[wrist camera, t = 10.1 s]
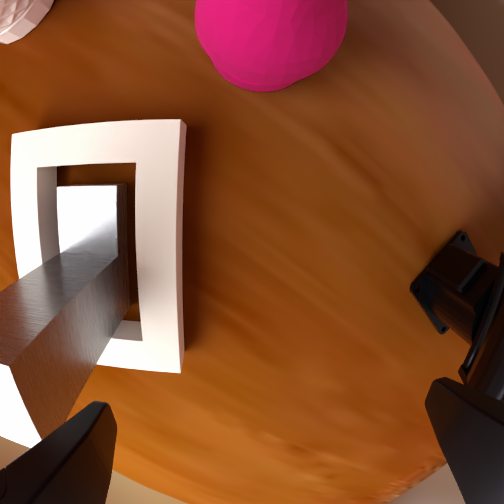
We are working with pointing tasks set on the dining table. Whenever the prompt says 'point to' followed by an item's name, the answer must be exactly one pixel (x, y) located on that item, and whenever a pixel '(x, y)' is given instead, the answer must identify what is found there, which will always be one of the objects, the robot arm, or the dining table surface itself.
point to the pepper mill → (270, 39)
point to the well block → (146, 222)
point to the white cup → (20, 17)
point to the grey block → (64, 312)
